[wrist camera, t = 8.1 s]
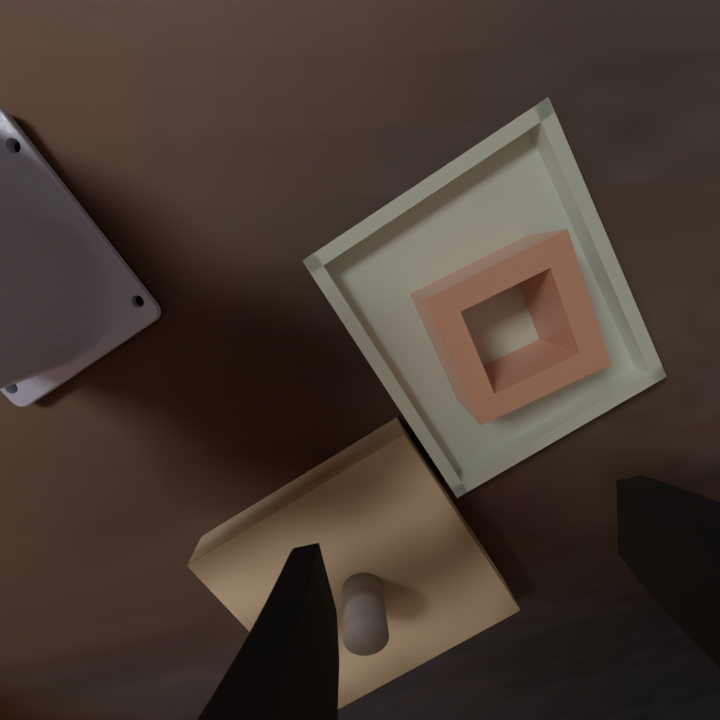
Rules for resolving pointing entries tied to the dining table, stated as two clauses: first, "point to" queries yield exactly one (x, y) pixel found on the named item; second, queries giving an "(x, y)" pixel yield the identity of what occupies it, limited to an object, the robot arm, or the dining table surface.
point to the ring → (549, 315)
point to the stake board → (366, 558)
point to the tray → (494, 315)
